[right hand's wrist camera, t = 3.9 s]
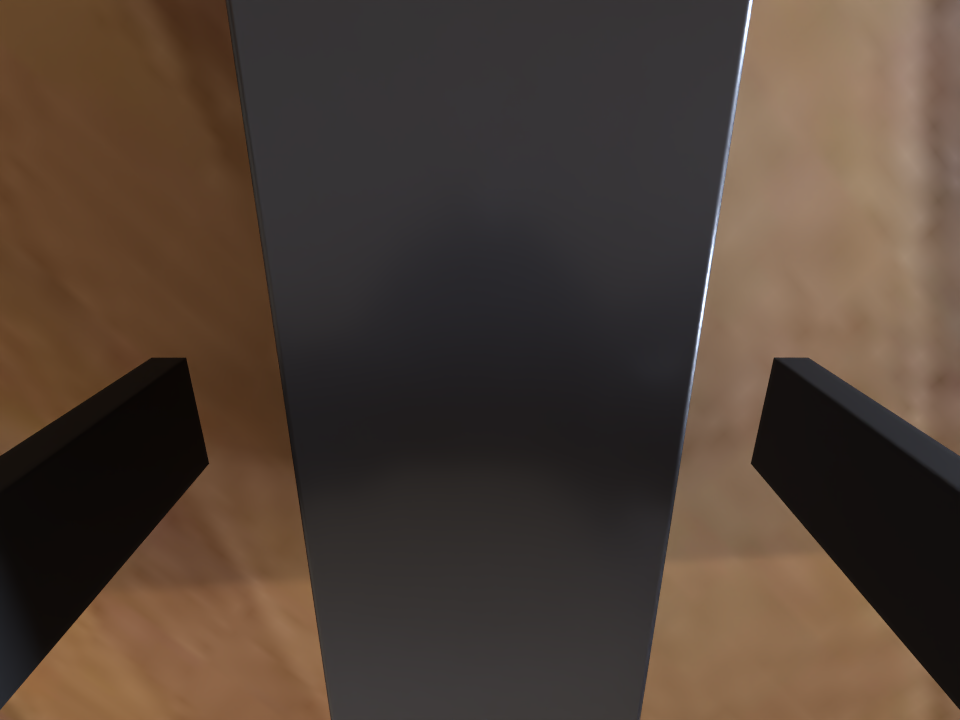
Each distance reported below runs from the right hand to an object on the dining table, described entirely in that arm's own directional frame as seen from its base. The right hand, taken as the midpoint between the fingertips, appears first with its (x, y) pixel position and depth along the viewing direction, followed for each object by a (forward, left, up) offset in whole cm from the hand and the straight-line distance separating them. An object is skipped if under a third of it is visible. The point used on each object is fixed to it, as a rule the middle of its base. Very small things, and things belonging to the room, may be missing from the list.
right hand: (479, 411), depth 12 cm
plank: (0, -9, -2) cm, 9 cm away
